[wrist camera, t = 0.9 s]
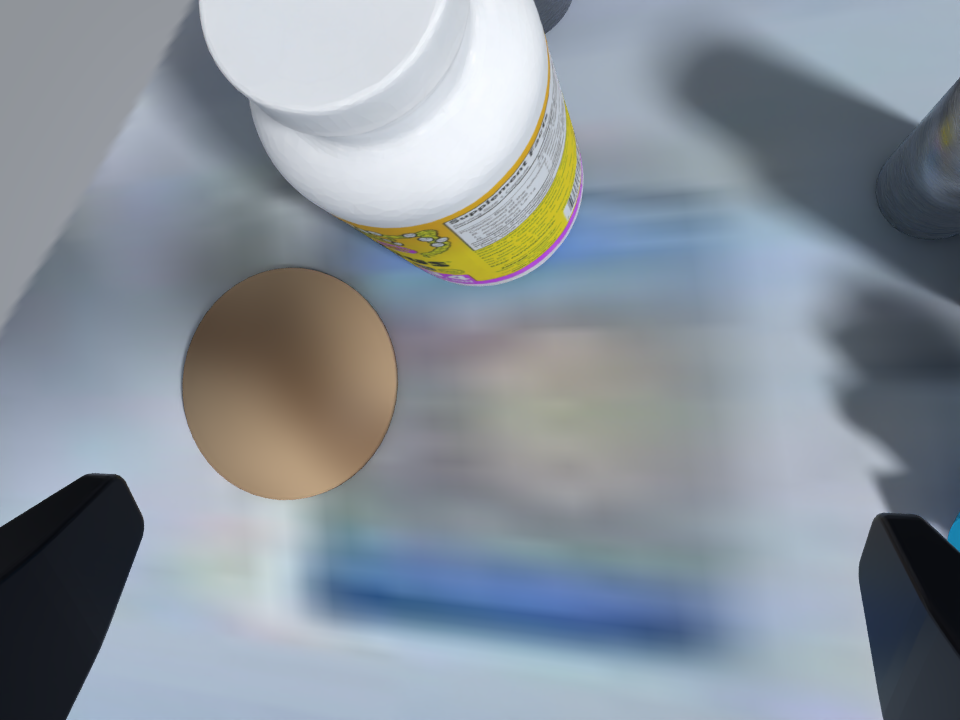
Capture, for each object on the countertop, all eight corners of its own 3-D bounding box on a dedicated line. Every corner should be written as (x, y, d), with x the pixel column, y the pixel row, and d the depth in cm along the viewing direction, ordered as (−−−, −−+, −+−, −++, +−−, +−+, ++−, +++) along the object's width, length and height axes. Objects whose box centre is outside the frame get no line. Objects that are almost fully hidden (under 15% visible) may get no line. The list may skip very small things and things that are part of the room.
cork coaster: (360, 530, 25) (356, 531, 25) (161, 459, 27) (156, 459, 27) (426, 300, 25) (423, 299, 25) (223, 246, 27) (218, 244, 27)
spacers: (1073, 344, 21) (1271, 310, 14) (298, 164, 27) (175, 78, 20) (1166, 15, 21) (1409, -178, 14) (372, -92, 27) (275, -263, 20)
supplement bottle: (355, 190, 26) (79, -15, 14) (497, 55, 25) (340, -292, 13) (475, 333, 25) (289, 249, 12) (630, 196, 24) (597, -42, 12)
